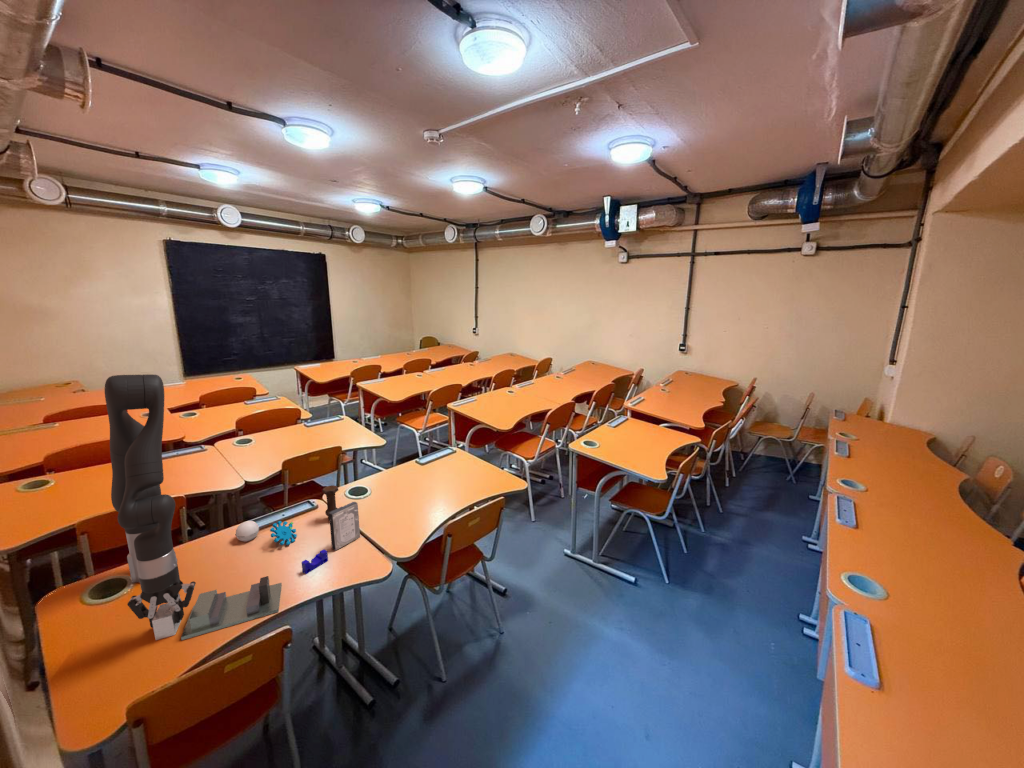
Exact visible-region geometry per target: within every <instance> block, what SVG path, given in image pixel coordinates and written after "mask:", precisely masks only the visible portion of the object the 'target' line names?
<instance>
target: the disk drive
mask: <svg viewBox="0 0 1024 768" xmlns="http://www.w3.org/2000/svg"><path fill="white" fill-rule="evenodd" d="M337 508H338V509H335V510H333V511H331V512H329V521H328V522H329V528H330V541H331V542H330V543H331V549H332V550H334V551H337V550H339V549H341V548H342V547H344V546H347V545H349V544H350V543H352V542H354V541H355V540H357V539H359V538H360V537H361V532H360V531H361V530H360V518H359V517H360V515H359V504H358V502H356V501H351V502H349V503H347V504H345V505H343V506H339V507H337Z"/></svg>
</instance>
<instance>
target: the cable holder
mask: <svg viewBox="0 0 1024 768" xmlns="http://www.w3.org/2000/svg"><path fill="white" fill-rule="evenodd" d="M327 562H329V557H328V550H326V549H325V548H324V549H322V550H320V551H319V552H318V553H317V554H315V556H314V557H313V558H311V560H310V561H309V560H307V559H303V560H302V561H301V572H302V573H303V574H304V575H307V574H309V573H311V572H312V571H314V570H316V569H317V568H318V567H320V566H322V565H324V564H326V563H327Z"/></svg>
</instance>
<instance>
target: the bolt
mask: <svg viewBox="0 0 1024 768" xmlns="http://www.w3.org/2000/svg"><path fill="white" fill-rule="evenodd" d="M338 491H339V487H338V486H337V485H333V484H331V485H328V486H325V487H323V488H322V494H323V495H325V497H326V505H327V507H326V509H325V511H324V512H325V515H326V516H327V517H328V518H327V519H328V522H330V521H329V512H331V511H333V510H335V509H338V508H339V507H337V504H336V502H337V501H336V493H337V492H338Z"/></svg>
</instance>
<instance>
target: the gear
mask: <svg viewBox="0 0 1024 768" xmlns="http://www.w3.org/2000/svg"><path fill="white" fill-rule="evenodd" d="M287 524H288V525H287ZM293 524H294V522H293V521H291V522H289V523H288V522H287V521H286V520H285V521H281V520H279V521H277V522H274V523H273V524H272V525H271V526H272V527H271V528H270V529H269V532H271V533H270V538H274V539H273V542H274V543H278V542H279V541H280V542H279V545H280V546H283V545H284V544H285V545H286V546H289V545H290V544H292V543H294V542H295V541H296V538H297V537H298V534H297V533H296V532H297V530H296V528H293V527H294V526H293ZM275 537H276V538H275Z"/></svg>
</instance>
